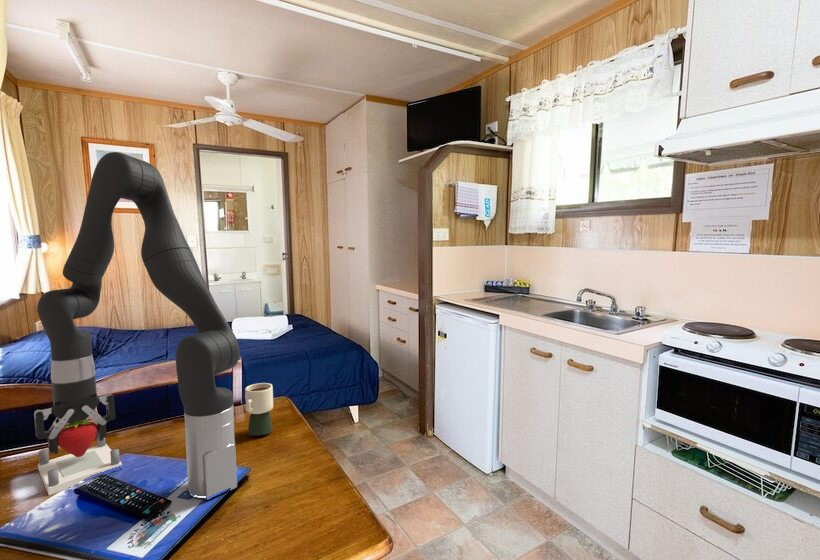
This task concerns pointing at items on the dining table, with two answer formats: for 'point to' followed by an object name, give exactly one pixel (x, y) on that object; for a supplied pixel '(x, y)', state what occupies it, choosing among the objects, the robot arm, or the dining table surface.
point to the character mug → (259, 408)
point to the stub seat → (76, 466)
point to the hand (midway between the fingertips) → (79, 446)
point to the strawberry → (77, 437)
